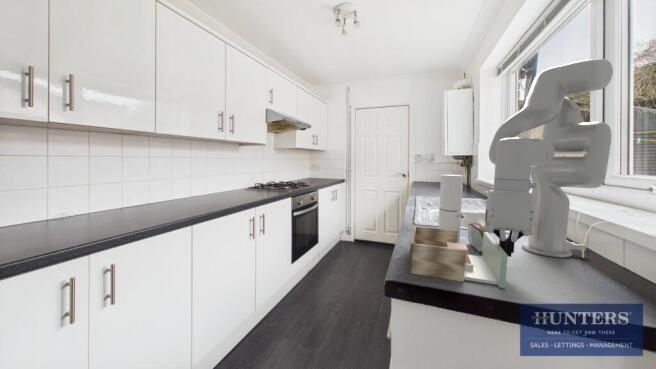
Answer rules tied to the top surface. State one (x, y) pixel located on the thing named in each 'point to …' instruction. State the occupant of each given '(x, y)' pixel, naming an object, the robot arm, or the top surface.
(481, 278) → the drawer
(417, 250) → the caddy
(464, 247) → the block
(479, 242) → the tin
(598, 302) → the top surface
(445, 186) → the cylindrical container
